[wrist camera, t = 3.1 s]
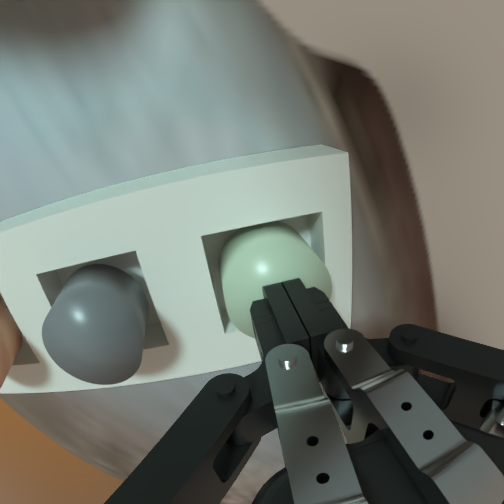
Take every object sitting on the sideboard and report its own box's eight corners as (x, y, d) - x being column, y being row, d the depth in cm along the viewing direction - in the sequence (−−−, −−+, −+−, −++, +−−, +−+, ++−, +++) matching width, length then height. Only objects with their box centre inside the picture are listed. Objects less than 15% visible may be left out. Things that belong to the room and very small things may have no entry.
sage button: (210, 230, 14) (215, 261, 12) (303, 211, 15) (330, 237, 12) (227, 309, 16) (236, 350, 14) (309, 290, 17) (332, 326, 14)
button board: (-58, 245, 13) (-83, 266, 10) (321, 144, 15) (348, 152, 13) (4, 365, 17) (-9, 393, 15) (330, 307, 20) (350, 336, 17)
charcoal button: (50, 274, 13) (24, 312, 10) (131, 254, 13) (118, 293, 11) (84, 345, 15) (71, 388, 12) (160, 332, 15) (156, 378, 12)
